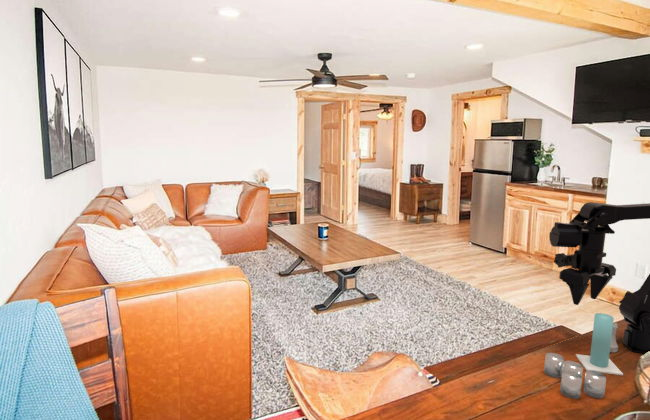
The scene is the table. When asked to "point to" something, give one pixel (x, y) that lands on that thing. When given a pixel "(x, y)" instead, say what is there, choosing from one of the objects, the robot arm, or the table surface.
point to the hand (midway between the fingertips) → (584, 301)
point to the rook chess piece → (614, 339)
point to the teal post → (601, 340)
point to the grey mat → (588, 366)
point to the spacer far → (571, 384)
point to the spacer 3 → (594, 384)
